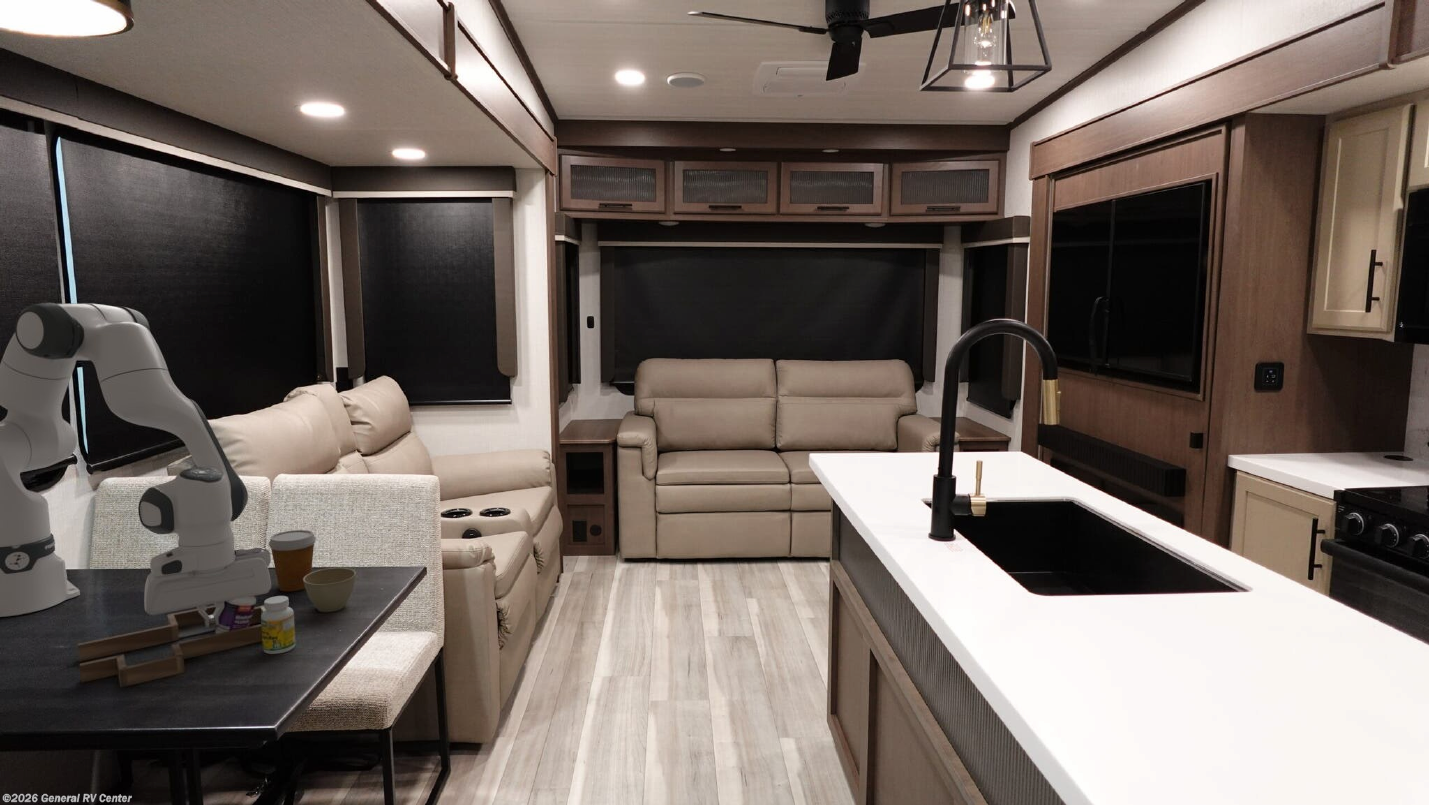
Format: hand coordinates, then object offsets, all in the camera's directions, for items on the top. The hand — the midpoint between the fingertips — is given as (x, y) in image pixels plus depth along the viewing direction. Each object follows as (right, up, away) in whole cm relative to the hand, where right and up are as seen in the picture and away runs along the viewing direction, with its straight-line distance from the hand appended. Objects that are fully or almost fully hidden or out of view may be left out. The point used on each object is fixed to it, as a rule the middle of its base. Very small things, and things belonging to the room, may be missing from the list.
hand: (212, 625), depth 151 cm
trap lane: (-3, -4, -2) cm, 5 cm away
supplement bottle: (+14, -4, -2) cm, 14 cm away
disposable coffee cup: (0, 0, +30) cm, 30 cm away
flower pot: (+14, -2, +18) cm, 23 cm away
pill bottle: (+2, -3, +2) cm, 4 cm away
